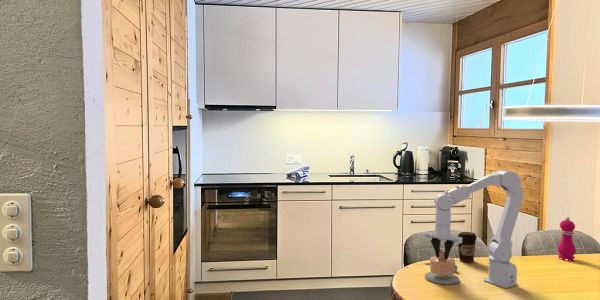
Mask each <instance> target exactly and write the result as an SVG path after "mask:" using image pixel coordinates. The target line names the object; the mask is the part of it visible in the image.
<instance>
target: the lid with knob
mask: <svg viewBox="0 0 600 300" xmlns="http://www.w3.org/2000/svg"><path fill="white" fill-rule="evenodd" d="M455 265H456V260H455V259H454V258H453V257H450V256H449V257H448V259H447V260H446V259H445V250H441V249H440V251H439V258H436V255H434V256H433V255H432V256H430V257H429V269H430V272H432V273H435V274H437V275H446V276H449V275H452V274H453V275H455V274H456V271H455Z"/></svg>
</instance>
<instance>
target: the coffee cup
mask: <svg viewBox="0 0 600 300" xmlns="http://www.w3.org/2000/svg"><path fill="white" fill-rule="evenodd" d="M456 237H461V238H462V243H461V244H460V243H458V244H457V245H458V246H457V247H458V258H459V259H460V260H461V261H460V260H459V259H458V260H459V261H460V262H462V261H465V262H464V263H468V262H471V263H474V262H475V258H474V257H475V252H476V242H477V238H478V236H477V234H476V233H475V232H472V231H471V232H470V231H460V232H459V234H458V235H457V236H456Z"/></svg>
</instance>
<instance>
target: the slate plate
mask: <svg viewBox="0 0 600 300" xmlns="http://www.w3.org/2000/svg"><path fill="white" fill-rule="evenodd" d="M424 278H425V280H426V281H428V282H430V283H432V284H436V285H440V286H441V285H442V286H454V285H458V284H459V283H460V277H459V276H457V275H455V274H452V275H449V276H446V275H437V274H435V273H432V272H431V271H429V272H426V273H425V274H424Z"/></svg>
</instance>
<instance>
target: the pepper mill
mask: <svg viewBox="0 0 600 300" xmlns="http://www.w3.org/2000/svg"><path fill="white" fill-rule="evenodd" d="M564 219H565V220H562V221H561V222H560V223H559V228H560V233H561V239H560V242H559V244H558V246H557V251H558V253H559V254H558V259H559V258H562V259H568V260H573V259H576V258H575V257H576V256H575V255H576V253H577V249H576V246H575V244H574V242H573V235H574V230H575V229H576V225H575V222H574V221H572V220H570V219H571V218H570V217H569V216H566V217H565V218H564Z"/></svg>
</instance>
